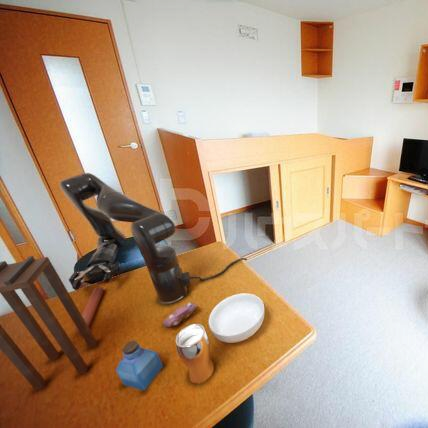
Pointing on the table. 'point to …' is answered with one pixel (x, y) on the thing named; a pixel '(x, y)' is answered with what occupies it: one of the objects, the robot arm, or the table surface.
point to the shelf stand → (23, 279)
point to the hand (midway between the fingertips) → (90, 284)
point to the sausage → (91, 305)
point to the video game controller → (179, 314)
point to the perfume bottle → (138, 366)
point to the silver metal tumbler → (195, 352)
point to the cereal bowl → (237, 317)
